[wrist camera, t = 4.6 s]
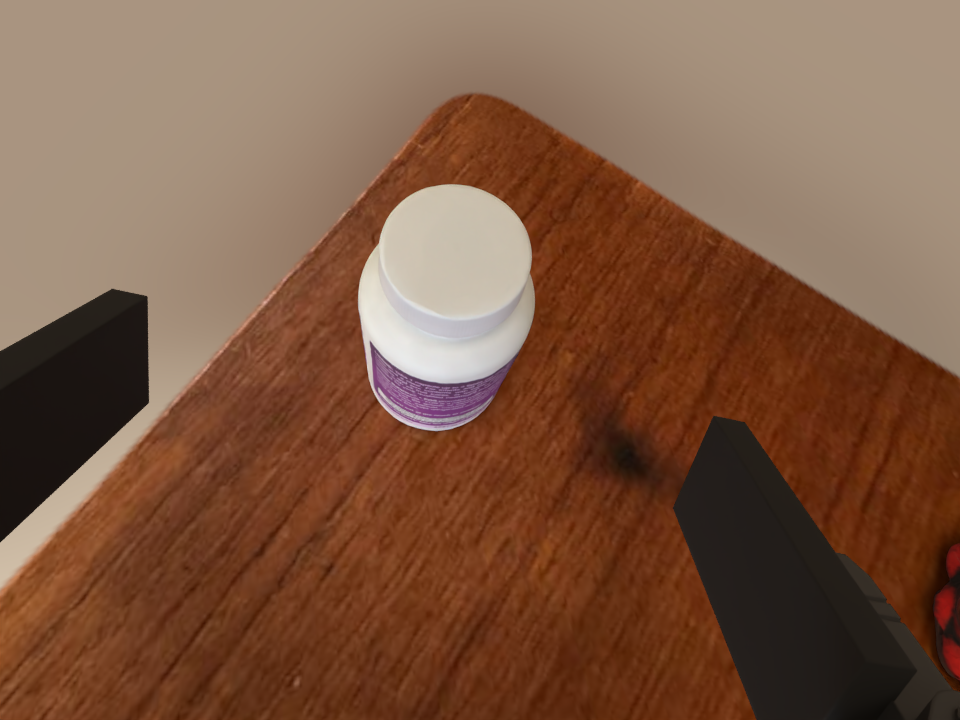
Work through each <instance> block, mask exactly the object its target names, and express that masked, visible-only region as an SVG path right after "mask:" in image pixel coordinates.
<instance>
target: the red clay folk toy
mask: <svg viewBox="0 0 960 720" xmlns="http://www.w3.org/2000/svg"><path fill="white" fill-rule="evenodd" d="M946 570H947V573H948V576H949V579H950V580H949V582H948V583H947V584H946V585H945V586H944V587H943V588H942V590H938V591H937V592H936V594H935V595H934V604H933V612H934V616H935V628H936V647H937V652H938V656H939V659H940V662H941V664H942V665H943V667H944V669H945V670H946V672H947V673H948V674H949V675H950V676H952V677H954V678H955V679H957V680H959V681H960V543H959V544H955V545H954V546H952V547H950V549H949V550H948V553H947V557H946Z"/></svg>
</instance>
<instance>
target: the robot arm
mask: <svg viewBox="0 0 960 720" xmlns="http://www.w3.org/2000/svg"><path fill="white" fill-rule="evenodd" d="M147 305H148V301H147V296H144V295H139V294H134V293H129V292H124V291H120V290H115V289H111V290H110V291H108V292H106V293H104V294H102V295H100V296H99V297H97V298H95V299H93V300H91V301H90V302H88V303H86V304H84V305H82V306H81V307H79V308H77V309H75V310H74V311H72V312H70V313H68V314H66V315H65V316H63V317H61V318H59V319H57V320H56V321H54V322H52V323H50V324H48V325H47V326H45V327H43V328H41V329H40V330H38V331H36V332H34V333H32V334H31V335H29V336H27V337H25V338H23V339H21V340H20V341H18V342H16V343H14V344H13V345H11V346H9V347H7V348H6V349H4V350H2V351H0V542H1V541H2V540H3V539H4V538H5V537H6V536H8V535H9V534H10V533H11V532H12V531H13V530H14V529H15V528H16V527H17V526H18V525H19V524H20V523H21V522H23V520H25V519H26V518H27V517H28V516H29V515H30V514H31V513H32V512H33V511H34V510H35V509H36V508H37V507H38V506H40V505H41V504H42V503H43V502H44V501H45V500H46V499H47V498H48V497H49V496H50V495H51V494H52V493H53V492H54V491H56V490H57V489H58V488H59V487H60V486H61V485H62V484H63V483H64V482H65V481H66V480H67V479H68V478H69V477H70V476H71V475H73V473H75V472H76V471H77V470H78V469H79V468H80V467H81V466H82V465H83V464H84V463H85V462H86V461H87V460H88V459H90V458H91V457H92V456H93V455H94V454H95V453H96V452H97V451H98V450H99V449H100V448H101V447H102V446H103V445H105V444H106V443H107V442H108V441H109V440H110V439H111V438H112V437H113V436H114V435H115V434H116V433H117V432H118V431H119V430H120V429H121V428H123V426H125V425H126V424H127V423H128V422H129V421H130V420H131V419H132V418H133V417H134V416H135V415H136V414H137V413H138V412H140V411H141V410H142V409H143V408H144V407H145V406H146V405H147V404H148V403H149V382H148V381H149V377H148V306H147ZM673 509H674V512H675V514H676V517H677V519H678V522H679V524H680V527H681V529H682V532H683V534H684V537H685V539H686V542H687V544H688V547H689V550H690V552H691V555H692V557H693V560H694V562H695V565H696V567H697V570H698V572H699V575H700V577H701V580H702V582H703V585H704V587H705V590H706V593H707V595H708V598H709V600H710V603H711V605H712V608H713V610H714V613H715V615H716V618H717V620H718V623H719V625H720V628H721V630H722V633H723V636H724V638H725V641H726V643H727V646H728V648H729V651H730V653H731V656H732V658H733V661H734V663H735V666H736V668H737V671H738V673H739V676H740V679H741V681H742V684H743V686H744V689H745V691H746V694H747V696H748V699H749V701H750V704H751V706H752V709H753V711H754V714H755V717H756V719H757V720H960V692H958V691H954V690H953V689H952V688H951V687H950V685H949V684H948V683H947V681H946V680H945V678H944V677H943V676H942V674H941V673H940V672H939V670H938V669H937V667H936V666H935V665H934V663H933V662H932V661H931V659H930V658H929V657H928V655H927V654H926V652H925V651H924V650H923V648H922V647H921V646H920V644H919V643H918V642H917V640H916V639H915V637H914V636H913V635H912V633H911V632H910V631H909V629H908V628H907V626H906V625H905V624H904V623H901V622H900V619H901V618H900V617H899V616H898V614H897V613H896V611H895V610H894V609H893V607H892V606H891V605H890V604H887V603H886V600H887V599H886V598H885V596H884V595H883V594H882V592H881V591H880V590H879V588H878V587H877V585H876V584H875V583H874V581H873V580H872V579H871V577H870V576H869V575H868V574H867V573H865V572H864V571H863V570H862V569H861V568H860V567H859V566H858V565H856V564H855V563H854V562H853V561H852V560H851V559H850V558H849V557H847V556H846V555H845V554H840V553H835V551H834V550H833V548H832V547H831V546H830V544H829V543H828V541H827V540H826V538H825V537H824V536H823V534H822V533H821V531H820V530H819V528H818V527H817V525H816V524H815V523H814V521H813V520H812V518H811V517H810V515H809V514H808V513H807V511H806V510H805V508H804V507H803V505H802V504H801V502H800V501H799V500H798V498H797V497H796V495H795V494H794V492H793V491H792V490H791V488H790V487H789V485H788V484H787V482H786V481H785V480H784V478H783V477H782V475H781V474H780V472H779V471H778V469H777V468H776V467H775V465H774V464H773V462H772V461H771V459H770V458H769V457H768V455H767V454H766V452H765V451H764V449H763V448H762V446H761V445H760V444H759V442H758V441H757V439H756V438H755V436H754V435H753V434H752V432H751V431H750V429H749V428H748V426H747V425H746V424H745V422H741V421H736V420H731V419H726V418H722V417H717V416H713V418H712V421H711V423H710V425H709V427H708V430H707V432H706V434H705V437H704V439H703V441H702V443H701V446H700V448H699V450H698V452H697V455H696V457H695V459H694V461H693V464H692V466H691V468H690V470H689V473H688V475H687V477H686V480H685V482H684V484H683V486H682V489H681V491H680V493H679V495H678V498H677V500H676V502H675V504H674V507H673Z"/></svg>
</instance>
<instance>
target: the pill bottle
mask: <svg viewBox="0 0 960 720" xmlns="http://www.w3.org/2000/svg"><path fill="white" fill-rule="evenodd" d="M531 262H532V251H531V245H530V241H529V237H528V234H527V231H526V229H525V227H524V225H523V223H522V222H521V220H520V219H519V217H518V216H517V215H516V213H515V212H514V211H513V210H512V209H511V208H510V207H509V206H508V205H507V204H505V203H504V202H503V201H501V200H500V199H498V198H497V197H495V196H494V195H492V194H489V193H487V192H486V191H483V190H481V189H477V188H474V187H470V186H465V185H454V184H448V185H438V186H434V187H428V188H425V189H422V190H420V191H417V192H415V193H413V194H412V195H410V196H408V197H407V198H406V199H404V200H403V201H402V202H401V203H400V204H399V205H398V206H397V207H396V208H395V209H394V210H393V211H392V212H391V214H390V215H389V217H388V218H387V220H386V222H385V224H384V227H383V229H382V233H381V236H380V241H379V244H378V245H377V247H376V248H375V249H374V250H373V252H372V253H371V255H370V256H369V258H368V260H367V262H366V264H365V267H364V269H363V272H362V275H361V279H360V284H359V293H358V309H359V314H360V322H361V328H362V335H363V342H364V350H365V357H366V363H367V369H368V376H369V381H370V384H371V387H372V390H373V392H374V394H375V396H376V398H377V399H378V401H379V402H380V404H381V405H382V406H383V407H384V408H385V410H387V411H388V412H389V413H390V414H391V415H392V416H393V417H394V418H396V419H398V420H399V421H401V422H403V423H405V424H407V425H410V426H413V427H416V428H419V429H424V430H433V431H440V430H448V429H452V428H455V427H458V426H461V425H464V424H466V423H467V422H469V421H471V420H473V419H474V418H476V417H477V416H478V415H479V414H480V413H482V412H483V411H484V410H485V409H486V407H487V406H488V405H489V404H490V402H491V401H492V399H493V398H494V396H495V394H496V392H497V391H498V388H499V387H500V385H501V383H502V382H503V380H504V378H505V376H506V374H507V372H508V371H509V369H510V367H511V366H512V364H513V362H514V360H515V359H516V357H517V356H518V353H519V351H520V349H521V347H522V345H523V343H524V341H525V340H526V337H527V335H528V333H529V330H530V327H531V324H532V321H533V316H534V309H535V294H534V287H533V282H532V278H531V275H530V269H531Z"/></svg>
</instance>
